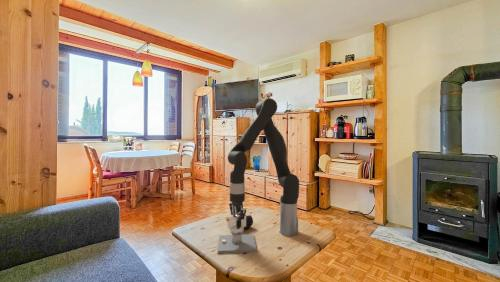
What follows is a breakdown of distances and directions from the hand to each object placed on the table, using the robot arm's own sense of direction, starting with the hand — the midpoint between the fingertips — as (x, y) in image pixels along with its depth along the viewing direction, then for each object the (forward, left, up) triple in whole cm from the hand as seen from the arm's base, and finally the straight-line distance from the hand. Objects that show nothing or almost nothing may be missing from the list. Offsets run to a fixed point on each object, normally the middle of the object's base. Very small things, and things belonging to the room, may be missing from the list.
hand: (237, 225), depth 111 cm
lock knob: (+1, 0, -3) cm, 3 cm away
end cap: (-4, -19, -10) cm, 22 cm away
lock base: (0, 0, -9) cm, 9 cm away
